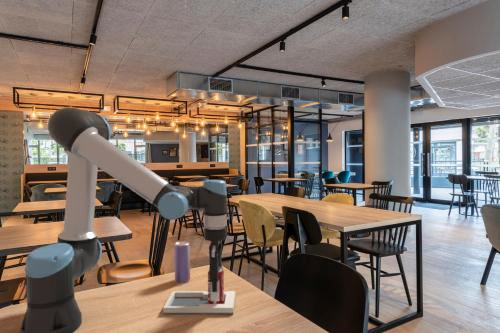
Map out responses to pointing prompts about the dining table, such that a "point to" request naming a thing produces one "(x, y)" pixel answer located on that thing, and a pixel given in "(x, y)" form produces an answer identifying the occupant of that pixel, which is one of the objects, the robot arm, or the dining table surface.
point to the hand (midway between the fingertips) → (216, 295)
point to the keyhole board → (198, 304)
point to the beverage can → (182, 261)
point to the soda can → (221, 287)
